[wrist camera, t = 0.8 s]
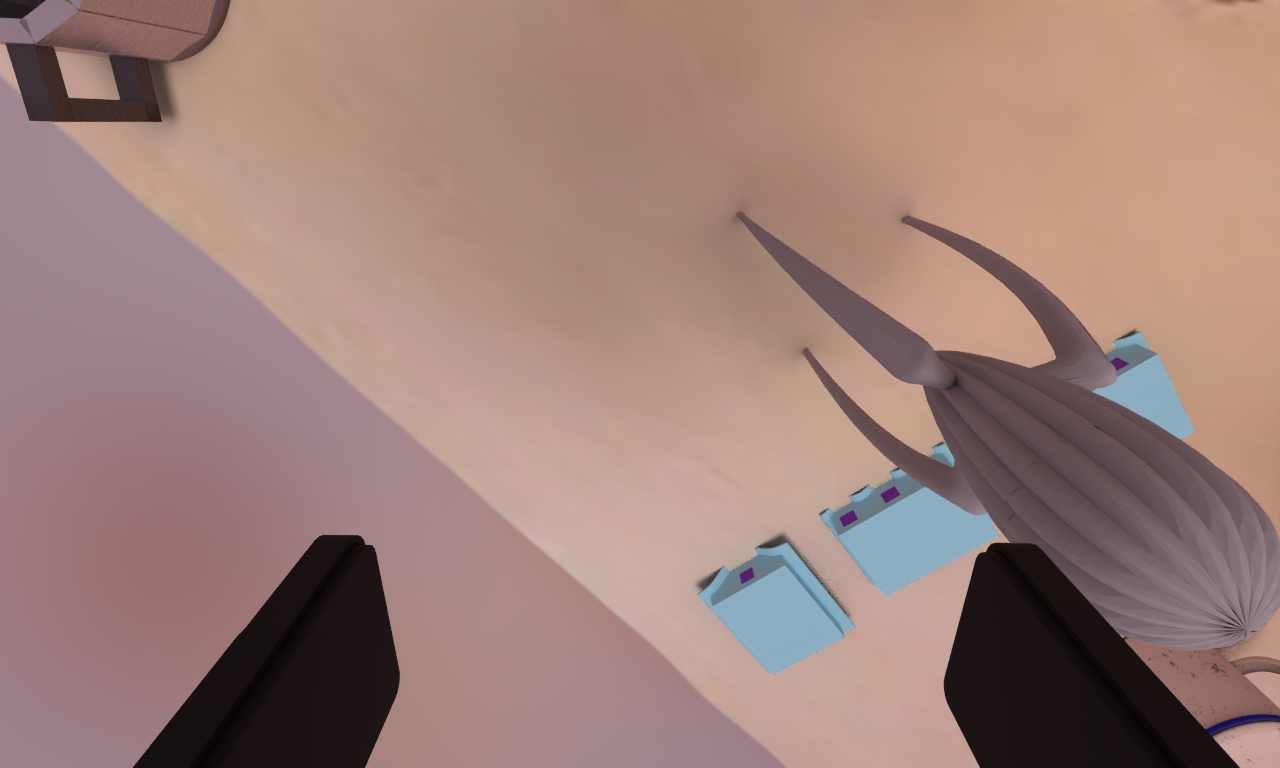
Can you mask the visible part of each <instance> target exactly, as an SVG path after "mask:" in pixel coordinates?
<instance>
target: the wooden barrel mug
mask: <svg viewBox="0 0 1280 768" xmlns="http://www.w3.org/2000/svg"><path fill="white" fill-rule="evenodd" d="M229 2H230V0H0V44H3V45H6V46H7V50H8V53H9V56H10V59H11V62H12V66H13V69H14V72H15V75H16V78H17V82H18V85H19V88H20V91H21V94H22V98H23V101H24V104H25V107H26V110H27V114H28V117H29V120H30V121H52V122H162V120H161V116H160V111H159V107H158V103H157V99H156V95H155V90H154V86H153V82H152V78H151V73H150V69H149V65H148V61H150V62H159V63H160V62H174V61H180V60H183V59H186V58H189V57H191V56H193V55H195V54H197V53H198V52H200V51H202V50H203V49H204V48H205V47H206V46H207V45H209V44H210V42H211V41H212V40H213V39H214V38H215V37H216V35H217V34H218V32H219V30H220V28H221V27H222V25H223V22H224V20H225V17H226V15H227V11H228V7H229ZM55 51H61V52H69V53H78V54H86V55H94V56H103V57H110V61H111V65H112V69H113V73H114V77H115V81H116V84H117V88H118V92H119V96H120V100H105V99H81V98H68V95H67V91H66V88H65V84H64V81H63V77H62V74H61V70H60V67H59V63H58V60H57V56H56V53H55Z"/></svg>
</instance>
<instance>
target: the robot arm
mask: <svg viewBox="0 0 1280 768" xmlns="http://www.w3.org/2000/svg"><path fill="white" fill-rule="evenodd" d="M399 680H400V672H399V666H398V661H397V656H396V651H395V646H394V641H393V636H392V631H391V626H390V621H389V616H388V611H387V606H386V601H385V596H384V591H383V586H382V581H381V576H380V570H379V566H378V561H377V555H376V552H375V549H374V547H373V546H372V545H365V542H364V540H363V539H362V537H361V536H358V535H322V536H319V537H318V538H317V539H316V540H315V541H314V542H313V543H312V545H311V546H310V547H309V548H308V550H307V551H306V552H305V553H304V555H303V556H302V557H301V558H300V560H299V561H298V562H297V563H296V565H295V566H294V567H293V569H292V570H291V571H290V572H289V574H288V575H287V576H286V577H285V579H284V580H283V581H282V582H281V584H280V585H279V586H278V587H277V589H276V590H275V591H274V592H273V594H272V595H271V596H270V598H269V599H268V600H267V601H266V603H265V604H264V605H263V606H262V608H261V609H260V610H259V611H258V613H257V614H256V615H255V617H254V618H253V619H252V620H251V622H250V623H249V624H248V625H247V627H246V628H245V629H244V630H243V631H242V632H241V633H240V634H239V635H238V636H237V637H236V638H235V640H234V641H233V642H232V643H231V645H230V646H229V647H228V648H227V650H226V651H225V652H224V654H223V655H222V656H221V657H220V659H219V660H218V661H217V662H216V664H215V665H214V666H213V668H212V669H211V670H210V671H209V672H208V674H207V675H206V677H204V679H203V680H202V681H201V683H200V684H199V685H198V686H197V688H196V689H195V690H194V691H193V693H192V694H191V695H190V696H189V698H188V699H187V700H186V701H185V703H184V704H183V705H182V706H181V708H180V709H179V710H178V711H177V713H176V714H175V715H174V716H173V718H172V719H171V720H170V721H169V723H168V724H167V725H166V726H165V728H164V729H163V730H162V732H161V733H160V734H159V735H158V737H157V738H156V739H155V740H154V742H153V743H152V744H151V745H150V747H149V748H148V749H147V750H146V752H145V753H144V754H143V756H142V757H141V758H140V759H139V760H138V762H137V763H136V764H135V765H134V767H133V768H365V766H366V764H367V762H368V759H369V757H370V755H371V753H372V750H373V748H374V746H375V743H376V741H377V739H378V737H379V734H380V732H381V730H382V727H383V725H384V723H385V721H386V718H387V716H388V714H389V711H390V709H391V707H392V705H393V702H394V700H395V698H396V695H397V692H398V687H399ZM944 692H945V697H946V701H947V703H948V705H949V708H950V710H951V712H952V714H953V716H954V717H955V719H956V721H957V723H958V725H959V727H960V729H961V731H962V733H963V735H964V737H965V739H966V741H967V743H968V745H969V747H970V749H971V751H972V753H973V755H974V757H975V759H976V761H977V763H978V765H979V767H980V768H1240V767H1239V766H1238V765H1237V763H1236V762H1235V761H1234V760H1233V759H1232V758H1231V757H1230V756H1229V755H1228V754H1227V753H1226V751H1225V750H1224V749H1223V748H1222V747H1221V746H1220V745H1219V744H1218V743H1217V742H1216V740H1215V739H1214V738H1213V737H1212V736H1211V735H1210V734H1209V733H1208V732H1207V731H1206V729H1205V728H1204V727H1203V726H1202V725H1201V724H1200V723H1199V722H1198V721H1197V720H1196V718H1195V717H1194V716H1193V715H1192V714H1191V713H1190V712H1189V711H1188V710H1187V709H1186V707H1185V706H1184V705H1183V704H1182V703H1181V702H1180V701H1179V700H1178V699H1177V698H1176V696H1175V695H1174V694H1173V693H1172V692H1171V691H1170V690H1169V689H1168V688H1167V687H1166V685H1165V684H1164V683H1163V682H1162V681H1161V680H1160V679H1159V678H1158V677H1157V676H1156V674H1155V673H1154V672H1153V671H1152V670H1151V669H1150V668H1149V667H1148V666H1147V665H1146V664H1145V662H1144V661H1143V660H1142V659H1141V658H1140V657H1139V656H1138V655H1137V654H1136V653H1135V651H1134V650H1133V649H1132V648H1131V647H1130V646H1129V645H1128V644H1127V643H1126V642H1125V640H1124V639H1123V638H1122V637H1121V636H1120V635H1119V634H1118V633H1117V632H1116V631H1115V629H1114V628H1113V627H1112V626H1111V625H1110V624H1109V623H1108V622H1107V621H1106V620H1105V618H1104V617H1103V616H1102V615H1101V614H1100V613H1099V612H1098V611H1097V610H1096V609H1095V607H1094V606H1093V605H1092V604H1091V603H1090V602H1089V601H1088V600H1087V599H1086V598H1085V596H1084V595H1083V594H1082V593H1081V592H1080V591H1079V590H1078V589H1077V588H1076V587H1075V585H1074V584H1073V583H1072V582H1071V581H1070V580H1069V579H1068V578H1067V577H1066V576H1065V574H1064V573H1063V572H1062V571H1061V570H1060V569H1059V568H1058V567H1057V566H1056V565H1055V564H1054V562H1053V561H1052V560H1051V559H1050V558H1049V557H1048V556H1047V555H1046V554H1045V553H1044V551H1043V550H1042V549H1041V548H1039V547H1038V546H1037V545H1035V544H1032V543H993V544H991V545H990V546H989V547H988V549H987V551H986V552H982V553H980V554H979V555H978V556H977V558H976V561H975V564H974V568H973V572H972V576H971V580H970V583H969V587H968V591H967V595H966V598H965V602H964V606H963V610H962V613H961V617H960V621H959V625H958V628H957V632H956V636H955V640H954V644H953V647H952V651H951V655H950V659H949V662H948V666H947V670H946V674H945V677H944Z"/></svg>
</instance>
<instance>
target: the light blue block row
mask: <svg viewBox="0 0 1280 768" xmlns="http://www.w3.org/2000/svg"><path fill="white" fill-rule="evenodd" d="M1113 342H1114V344H1115V346H1116V348H1117V349H1115V350H1114V351H1112V352H1110V353H1109V354H1107V355H1106V356H1107V358H1108V359H1109V361H1110V362H1111V363H1112V364H1113V365H1114V367H1115V369H1116V371H1117V373H1118V378H1117V381H1116V382H1114V383H1113V384H1111V385H1110V386H1107V387H1104V388H1095V389H1087V390H1089V391H1092V392H1094V393H1096V394H1098V395H1101V396H1103V397H1105V398H1107V399H1109V400H1112V401H1114V402H1116V403H1118V404H1120V405H1122V406H1124V407H1126V408H1127V409H1129V410H1131V411H1133V412H1135V413H1137V414H1139V415H1140V416H1142V417H1144V418H1146V419H1148V420H1150V421H1152V422H1153V423H1155V424H1157V425H1158V426H1160V427H1161V428H1163V429H1164V430H1166V431H1168V432H1169V433H1171V434H1172V435H1174V436H1176V437H1177V438H1179V439H1180V440H1181V439H1183V438H1185V437H1186V436H1188V435H1190V434H1192V433H1194V432H1195V431H1194V429H1193V427H1192V425H1191V422H1190V420H1189V418H1188V416H1187V414H1186V412H1185V410H1184V408H1183V406H1182V404H1181V401H1180V399H1179V397H1178V395H1177V393H1176V391H1175V389H1174V387H1173V385H1172V383H1171V380H1170V378H1169V376H1168V374H1167V372H1166V370H1165V368H1164V366H1163V364H1162V361H1161V359H1160V357H1159V355H1158V354H1157V353H1155V352H1153V351H1151V350H1149V348H1148V346H1147V344H1146V342H1145V340H1144V337H1143V335H1142V333H1141V332H1140V331H1139V332H1137V333H1135V334H1133V335H1131V336H1128V337H1125V338H1122V339H1117V340H1115V341H1113ZM932 449H933V451H934V452H935V455H933V456H931V457H929V458H931V459H934V460H936V461H938V462H941V463H943V464H945V465H948V466H950V467H954V461H955V459H954V458H953V455H952V454H951V452H950V451H949V449H948V448H947V446H946V445H945V443H943V444H941V445H938V446H933V447H932ZM889 473H890V474H891V476H892V477H893V479H892V480H890V481H888V482H886V483H885V484H883V485H881V486H880V487H878V488H876V489H874V490H873V489H872V487H871V486H870V484H868V485H867V486H866V487H865V488H864V489H863V490H862V491H861V492H859V493H857V494H854V495H850V496H848V497H849V498H850V499H851V501H852V503H850V504H849V505H847V506H845V507H843V508H842V509H840V510H838V511H837V512H835V513H833V512H832V510H831V509H830V508H827V510H826V511H825V512H824V513H823V514H821V515H820V517H821V518H822V519H823V520H824V522H825V523H826V524H827V526H828V527H829V528H830V529H831V531H832V532H833V533H834V535H835V536H836V537H837V538H838V540H839V541H840V542H841V544H842V545H843V546H844V547H845V549H846V550H847V551H848V553H849V554H850V555H851V557H852V558H853V559H854V560H855V562H856V563H857V564H858V566H859V567H860V568H861V569H862V571H863V572H864V573H865V575H866V576H867V577H868V578H869V580H870V581H871V582H872V584H873V585H874V586H875V585H877V586H878V588H879V589H880V590H881V591H882V593H883V594H884V595H885V597H886V596H888V595H890V594H891V593H893V592H895V591H897V590H899V589H901V588H903V587H905V586H906V585H908V584H910V583H912V582H914V581H916V580H918V579H920V578H921V577H923V576H925V575H927V574H929V573H931V572H933V571H935V570H937V569H938V568H940V567H942V566H944V565H946V564H948V563H950V562H952V561H953V560H955V559H957V558H959V557H961V556H963V555H965V554H967V553H968V552H970V551H972V550H974V549H976V548H978V547H980V546H982V545H983V544H985V543H987V542H989V541H991V540H993V539H995V538H997V537H999V536H1000V535H999V534H998V532H997V531H996V529H995V528H994V526H993V525H992V523H991V522H993V520H992V519H991V517H990V516H989V514H988V513H987V512H986V513H985V514H984V515H974V514H971V513H969V512H966V511H964V510H963V509H961V508H960V507H958V506H957V505H955V504H953V503H951V502H949V501H948V500H946V499H944V498H942V497H941V496H939V495H938V494H936V493H934V492H933V491H931V490H930V489H928V488H926V487H925V486H923V485H922V484H920V483H919V482H917V481H916V480H914V479H913V478H912V477H910V476H909V475H907V474H906V473H905V472H904V471H902V470H901V469H898V470H895V471H891V472H889ZM754 549H755V550H756V552H757V553H758V554H759V555H758V556H757V557H755V558H753V559H751V560H750V561H748V562H746V563H745V564H743V565H741V566H739V567H738V568H736V569H734V570H733V571H731V572H730V571H729V570H728V569H727V568H726V566H723V567H722V568H721V570H720V571H719V573H718V574H717V576H716V577H715V579H714V580H713V581H712V582H711V584H710V585H709V586H708V587H706V588H705V589H704V590H702V591H701V592H700V593H698V594H697V595H698V596H699V597H700V598H701V599H702V600H703V602H704V603H705V604H706V605H707V606H708V607H709V608H710V609H711V610H712V611H713V612H714V614H715V615H716V616H717V617H718V618H719V619H720V620H721V621H722V622H723V623H724V624H725V626H726V627H727V628H728V629H729V630H730V631H731V632H732V633H733V634H734V635H735V636H736V638H737V639H738V640H739V641H740V642H741V643H742V644H743V645H744V646H745V647H746V648H747V650H748V651H749V652H750V653H751V654H752V655H753V656H754V657H755V658H756V659H757V660H758V662H759V663H760V664H761V665H762V666H763V667H764V668H765V669H766V670H767V671H768V672H769V673H770V672H772V673H773V674H776V673H778V672H780V671H782V670H784V669H786V668H788V667H789V666H791V665H793V664H795V663H797V662H799V661H801V660H803V659H805V658H807V657H809V656H810V655H812V654H814V653H816V652H818V651H820V650H822V649H824V648H826V647H828V646H830V645H832V644H833V643H835V642H837V641H839V640H841V639H843V638H845V636H844V633H843V632H845V631H848V630H851V629H854V628H856V626H855V625H854V624H853V623H852V621H851V620H850V619H849V618H848V616H847V615H846V614H845V613H844V611H843V610H842V609H841V608H840V607H839V605H838V604H837V603H836V602H835V600H834V599H833V598H832V597H831V596H830V594H829V593H828V592H827V591H826V589H825V588H824V587H823V586H822V584H821V583H820V582H819V581H818V580H817V578H816V577H815V576H814V575H813V573H812V572H811V571H810V570H809V568H808V567H807V566H806V565H805V564H804V562H803V561H802V560H801V559H800V557H799V556H798V555H797V554H796V553H795V551H794V550H793V549H792V548H791V546H790V545H789V544H788V543H787V542H786V543H783V544H781V545H779V546H776V547H773V548H760V547H756V548H754Z"/></svg>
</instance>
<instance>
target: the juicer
mask: <svg viewBox="0 0 1280 768" xmlns="http://www.w3.org/2000/svg"><path fill="white" fill-rule="evenodd" d="M737 215H738V217H739V218H740V219H741V220H742V222H743V223H744V224H745V225H746V227H747V228H748V229H749V230H750V232H751V233H752V234H753V235H754V236H755V237H756V239H757V240H758V241H759V242H760V243H761V244H762V245H763V247H764V248H765V249H766V250H767V251H768V252H769V253H770V255H771V256H772V257H773V258H774V259H775V260H776V261H777V262H778V263H779V265H780V266H781V267H782V268H783V269H784V270H785V271H786V272H787V273H788V274H789V275H790V276H791V277H792V278H793V279H794V280H795V281H796V282H797V284H798V285H799V286H800V287H801V288H802V289H803V290H804V291H805V292H806V293H807V294H808V295H809V296H810V297H811V298H812V299H813V300H814V301H815V302H816V303H817V304H818V305H819V306H820V307H821V308H822V309H824V310H825V311H826V312H827V313H828V314H829V315H830V316H831V317H832V318H833V319H834V320H835V321H836V322H837V323H838V324H839V325H840V326H841V327H842V328H843V329H844V330H845V331H846V332H847V333H848V334H849V335H850V336H852V337H853V338H854V339H855V340H856V341H857V342H858V343H859V344H860V345H861V346H862V347H863V348H864V349H865V350H866V351H867V352H869V353H870V354H871V355H872V356H873V357H874V358H875V359H876V360H877V361H878V362H879V363H880V364H881V365H882V366H883V367H884V368H886V369H887V370H888V371H889V372H890V373H891V374H892V375H893V376H895V377H896V378H898V379H899V380H901V381H904V382H907V383H912V384H920V385H923V387H924V391H925V395H926V398H927V401H928V404H929V406H930V409H931V411H932V414H933V416H934V418H935V421H936V423H937V425H938V427H939V429H940V431H941V434H942V436H943V438H944V440H945V442H946V444H947V445H948V447H949V449H950V451H951V453H952V455H953V458H954V459H955V461H954V467H950V466H948V465H945V464H943V463H941V462H938V461H936V460H934V459H931V458H929V457H927V456H925V455H923V454H921V453H919V452H917V451H915V450H914V449H912V448H910V447H909V446H907V445H906V444H904V443H903V442H901V441H900V440H898V439H897V438H895V437H894V436H893V435H891V434H890V433H889V432H887V431H886V430H885V429H884V428H882V427H881V426H880V425H879V424H877V423H876V422H875V421H874V420H873V419H872V418H871V417H870V416H868V415H867V414H866V413H865V412H864V411H863V410H862V409H861V408H860V407H859V406H858V405H857V404H856V403H855V402H854V401H853V400H852V399H851V398H850V397H849V396H848V395H847V394H846V393H845V392H844V391H843V390H842V389H841V388H840V387H839V385H838V384H837V383H836V382H835V381H834V380H833V379H832V378H831V376H830V375H829V374H828V373H827V372H826V371H825V370H824V368H823V367H822V366H821V365H820V364H819V362H818V361H817V360H816V359H815V358H814V356H813V355H812V354H811V352H810V351H809V350H808V349H807V348H805V350H804V355H805V357H806V359H807V360H808V362H809V363H810V365H811V366H812V368H813V369H814V371H815V372H816V374H817V375H818V377H819V378H820V380H821V381H822V383H823V384H824V386H825V387H826V388H827V390H828V391H829V393H830V394H831V395H832V397H833V398H834V399H835V401H836V402H837V404H838V405H839V406H840V408H841V409H842V410H843V411H844V413H845V414H846V415H847V416H848V418H849V419H850V420H851V421H852V422H853V424H854V425H855V426H856V427H857V428H858V429H859V430H860V431H861V432H862V433H863V435H864V436H865V437H866V438H867V439H868V440H869V441H870V442H871V443H872V444H873V445H874V446H875V447H876V448H877V449H878V450H879V451H880V452H881V453H882V454H883V455H884V456H886V457H887V458H888V459H889V460H890V461H891V462H893V463H894V464H895V465H896V466H897V467H898V468H900V469H901V470H902V471H904V472H905V473H906V474H907V475H909V476H910V477H912V478H913V479H914V480H916V481H917V482H919V483H920V484H922V485H923V486H925V487H926V488H928V489H930V490H931V491H933V492H934V493H936V494H938V495H939V496H941V497H942V498H944V499H946V500H948V501H949V502H951V503H953V504H955V505H957V506H958V507H960V508H961V509H963V510H964V511H966V512H969V513H971V514H974V515H984V514H985V513H986V512H987V513H988V514H989V516H990V517H991V519H992V520H993V522H994V523H995V524H996V526H997V527H998V528H999V529H1000V531H1001V532H1002V533H1003V534H1004V536H1005V537H1006V538H1007V539H1008V541H1009V542H1010V543H1032V544H1035V545H1037V546H1038V547H1039V548H1041V549H1042V550H1043V551H1044V553H1045V554H1046V555H1047V556H1048V557H1049V558H1050V559H1051V560H1052V561H1053V562H1054V564H1055V565H1056V566H1057V567H1058V568H1059V569H1060V570H1061V571H1062V572H1063V573H1064V574H1065V576H1066V577H1067V578H1068V579H1069V580H1070V581H1071V582H1072V583H1073V584H1074V585H1075V587H1076V588H1077V589H1078V590H1079V591H1080V592H1081V593H1082V594H1083V595H1084V596H1085V598H1086V599H1087V600H1088V601H1089V602H1090V603H1091V604H1092V605H1093V606H1094V607H1095V609H1096V610H1097V611H1098V612H1099V613H1100V614H1101V615H1102V616H1103V617H1104V618H1105V620H1106V621H1107V622H1108V623H1109V624H1110V625H1111V626H1112V627H1113V628H1114V629H1115V631H1116V632H1117V633H1118V634H1120V635H1123V636H1125V637H1127V638H1130V639H1132V640H1135V641H1139V642H1142V643H1146V644H1149V645H1157V646H1165V647H1169V648H1172V649H1176V650H1187V651H1197V650H1205V649H1211V648H1222V647H1227V646H1231V645H1233V644H1235V643H1236V642H1238V641H1239V640H1247V639H1249V638H1250V637H1251V635H1252V634H1253V632H1258V631H1261V630H1262V629H1263V628H1264V627H1265V626H1266V625H1267V621H1269V620H1270V619H1271V618H1272V617H1273V616H1274V615H1275V613H1276V611H1277V609H1278V607H1279V605H1280V543H1279V538H1278V534H1277V532H1276V530H1275V528H1274V526H1273V524H1272V522H1271V520H1270V518H1269V517H1268V515H1267V514H1266V513H1265V512H1264V510H1263V509H1262V508H1261V507H1260V506H1259V504H1258V503H1257V502H1256V501H1255V500H1254V499H1253V498H1252V496H1251V495H1250V494H1249V493H1248V492H1247V491H1246V490H1245V489H1244V488H1243V487H1242V486H1240V485H1239V484H1238V483H1237V482H1236V481H1235V480H1234V479H1232V478H1231V477H1229V476H1228V475H1227V474H1225V473H1224V472H1223V471H1221V470H1220V469H1219V468H1217V467H1216V466H1215V465H1214V464H1213V463H1211V462H1210V461H1209V460H1208V459H1207V458H1206V457H1205V456H1203V455H1202V454H1200V453H1199V452H1198V451H1196V450H1195V449H1193V448H1192V447H1190V446H1189V445H1188V444H1186V443H1185V442H1183V441H1182V440H1180V439H1179V438H1177V437H1176V436H1174V435H1172V434H1171V433H1169V432H1168V431H1166V430H1164V429H1163V428H1161V427H1160V426H1158V425H1157V424H1155V423H1153V422H1152V421H1150V420H1148V419H1146V418H1144V417H1142V416H1140V415H1139V414H1137V413H1135V412H1133V411H1131V410H1129V409H1127V408H1126V407H1124V406H1122V405H1120V404H1118V403H1116V402H1114V401H1112V400H1109V399H1107V398H1105V397H1103V396H1101V395H1098V394H1096V393H1094V392H1092V391H1089V390H1087V389H1095V388H1104V387H1107V386H1110V385H1111V384H1113V383H1114V382H1116V381H1117V378H1118V373H1117V371H1116V369H1115V367H1114V365H1113V364H1112V363H1111V362H1110V361H1109V359H1108V358H1107V356H1106V355H1105V354H1104V352H1103V351H1102V349H1101V348H1100V346H1099V345H1098V344H1097V342H1096V341H1095V340H1094V339H1093V337H1092V336H1091V335H1090V334H1089V332H1088V331H1087V330H1086V329H1085V327H1084V326H1083V325H1082V324H1081V322H1080V321H1079V320H1078V319H1077V317H1076V316H1075V315H1074V314H1073V313H1072V312H1071V311H1070V310H1069V309H1068V308H1067V307H1066V306H1065V305H1064V304H1063V303H1062V302H1061V301H1060V300H1059V299H1058V298H1057V297H1056V296H1055V295H1054V294H1053V293H1052V292H1051V291H1049V290H1048V289H1047V288H1046V287H1045V286H1043V285H1042V284H1041V283H1040V282H1038V281H1037V280H1036V279H1034V278H1033V277H1032V276H1030V275H1029V274H1028V273H1026V272H1025V271H1023V270H1022V269H1020V268H1019V267H1017V266H1016V265H1014V264H1013V263H1011V262H1010V261H1008V260H1007V259H1005V258H1004V257H1002V256H1000V255H999V254H997V253H995V252H993V251H992V250H990V249H988V248H986V247H984V246H982V245H980V244H978V243H976V242H974V241H972V240H969V239H967V238H965V237H963V236H961V235H958V234H956V233H954V232H951V231H949V230H947V229H944V228H941V227H938V226H936V225H933V224H930V223H928V222H925V221H922V220H919V219H916V218H913V217H911V216H908V217H904V218H903V219H902V222H903V223H905V224H908V225H910V226H912V227H914V228H916V229H918V230H920V231H922V232H924V233H926V234H928V235H929V236H931V237H933V238H935V239H937V240H939V241H941V242H943V243H944V244H946V245H948V246H950V247H951V248H953V249H955V250H956V251H958V252H960V253H961V254H963V255H964V256H966V257H967V258H969V259H970V260H972V261H973V262H975V263H976V264H978V265H979V266H981V267H982V268H983V269H985V270H986V271H988V272H989V273H990V274H992V275H993V276H994V277H995V278H997V279H998V280H999V281H1000V282H1002V283H1003V284H1004V285H1005V286H1006V287H1007V288H1008V289H1009V290H1010V291H1012V292H1013V293H1014V294H1015V295H1016V296H1017V297H1018V298H1019V299H1020V300H1021V302H1022V303H1023V304H1024V305H1025V306H1026V308H1027V309H1028V310H1029V311H1030V313H1031V314H1032V315H1033V316H1034V318H1035V319H1036V320H1037V322H1038V324H1039V325H1040V327H1041V329H1042V330H1043V332H1044V334H1045V336H1046V337H1047V339H1048V341H1049V343H1050V344H1051V346H1052V348H1053V350H1054V352H1055V355H1056V359H1055V360H1052V361H1050V362H1048V363H1045V364H1042V365H1038V366H1035V367H1032V368H1027V367H1024V366H1021V365H1018V364H1014V363H1010V362H1006V361H1003V360H999V359H995V358H991V357H986V356H981V355H976V354H972V353H966V352H959V351H934V350H933V348H932V347H931V346H930V344H929V343H928V342H927V341H926V340H924V339H923V338H922V337H920V336H919V335H917V334H916V333H914V332H913V331H911V330H910V329H908V328H907V327H905V326H904V325H902V324H901V323H899V322H898V321H896V320H895V319H893V318H892V317H891V316H889V315H888V314H886V313H885V312H883V311H882V310H880V309H879V308H877V307H876V306H874V305H873V304H871V303H870V302H868V301H867V300H865V299H864V298H862V297H861V296H859V295H858V294H856V293H855V292H853V291H852V290H850V289H849V288H847V287H846V286H845V285H843V284H842V283H840V282H839V281H837V280H836V279H834V278H833V277H831V276H830V275H829V274H827V273H826V272H824V271H823V270H821V269H820V268H818V267H817V266H815V265H814V264H813V263H811V262H810V261H808V260H807V259H805V258H804V257H803V256H801V255H800V254H798V253H797V252H795V251H794V250H793V249H791V248H790V247H788V246H787V245H785V244H784V243H783V242H781V241H780V240H778V239H777V238H775V237H774V236H773V235H771V234H770V233H768V232H767V231H765V230H764V229H763V228H761V227H760V226H759V225H757V224H756V223H754V222H753V221H752V220H750V219H749V218H748V217H747V216H745V215H744V214H743V213H739V212H738V213H737Z"/></svg>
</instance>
